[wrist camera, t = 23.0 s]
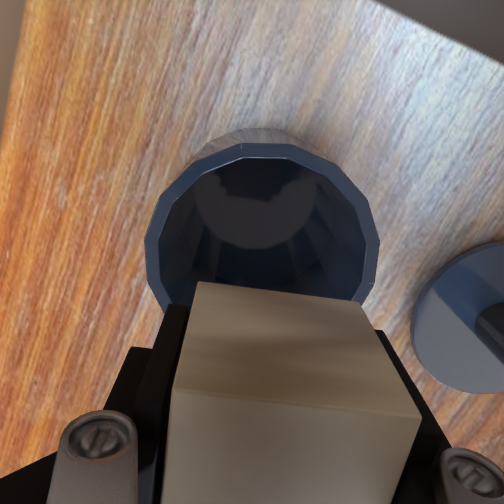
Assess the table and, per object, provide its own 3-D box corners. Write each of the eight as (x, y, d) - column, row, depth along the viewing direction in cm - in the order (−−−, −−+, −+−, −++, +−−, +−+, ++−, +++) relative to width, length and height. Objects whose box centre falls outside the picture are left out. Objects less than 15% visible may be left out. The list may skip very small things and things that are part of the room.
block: (359, 301, 12) (424, 417, 7) (325, 427, 13) (363, 582, 9) (197, 280, 11) (171, 389, 7) (182, 412, 13) (153, 565, 9)
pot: (310, 99, 23) (339, 103, 16) (362, 259, 27) (403, 319, 20) (143, 167, 24) (102, 198, 17) (213, 312, 28) (202, 386, 21)
